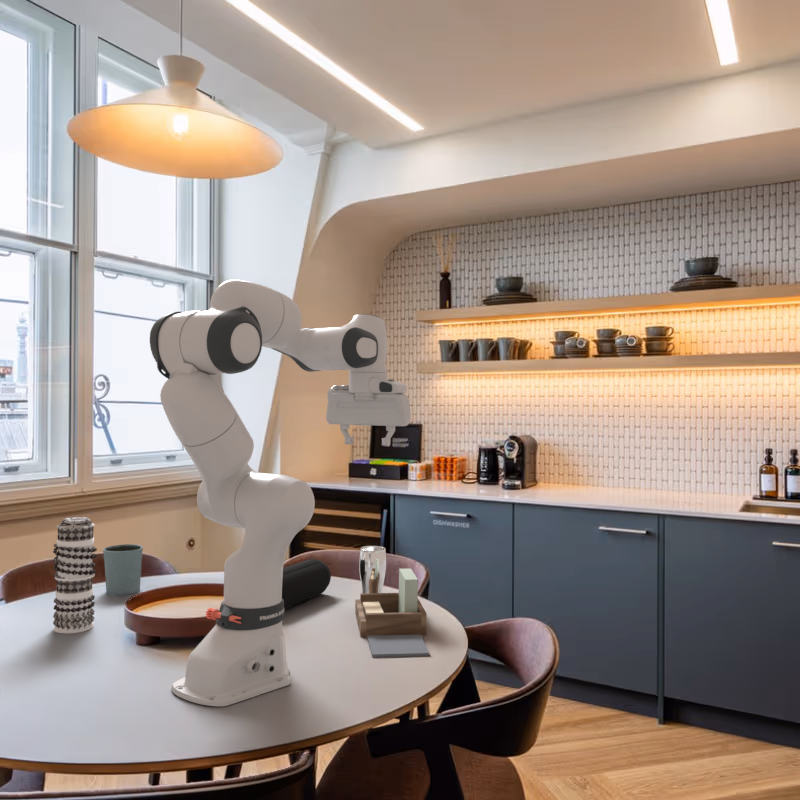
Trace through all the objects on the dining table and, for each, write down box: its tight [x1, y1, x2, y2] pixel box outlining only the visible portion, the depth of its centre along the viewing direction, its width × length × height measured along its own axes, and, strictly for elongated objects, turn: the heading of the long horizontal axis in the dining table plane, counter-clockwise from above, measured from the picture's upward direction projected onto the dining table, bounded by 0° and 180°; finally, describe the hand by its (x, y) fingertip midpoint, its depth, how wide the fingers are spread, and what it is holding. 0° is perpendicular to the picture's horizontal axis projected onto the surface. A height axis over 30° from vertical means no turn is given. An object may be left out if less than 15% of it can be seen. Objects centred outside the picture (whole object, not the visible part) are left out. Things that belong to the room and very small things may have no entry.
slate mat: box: [366, 634, 430, 658], centre depth 155 cm, size 12×12×1 cm
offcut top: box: [362, 602, 384, 619], centre depth 171 cm, size 11×4×2 cm, turn 9°
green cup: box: [102, 543, 144, 597], centre depth 196 cm, size 10×10×12 cm
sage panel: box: [398, 568, 419, 613], centre depth 172 cm, size 11×3×12 cm, turn 7°
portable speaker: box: [282, 558, 332, 610], centre depth 187 cm, size 26×10×10 cm, turn 153°
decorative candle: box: [52, 516, 98, 635], centre depth 164 cm, size 9×9×25 cm
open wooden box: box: [354, 592, 428, 638], centre depth 171 cm, size 18×15×5 cm
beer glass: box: [358, 545, 387, 593], centre depth 186 cm, size 7×7×15 cm
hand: (367, 445), depth 166 cm, fingers open, 8 cm apart
